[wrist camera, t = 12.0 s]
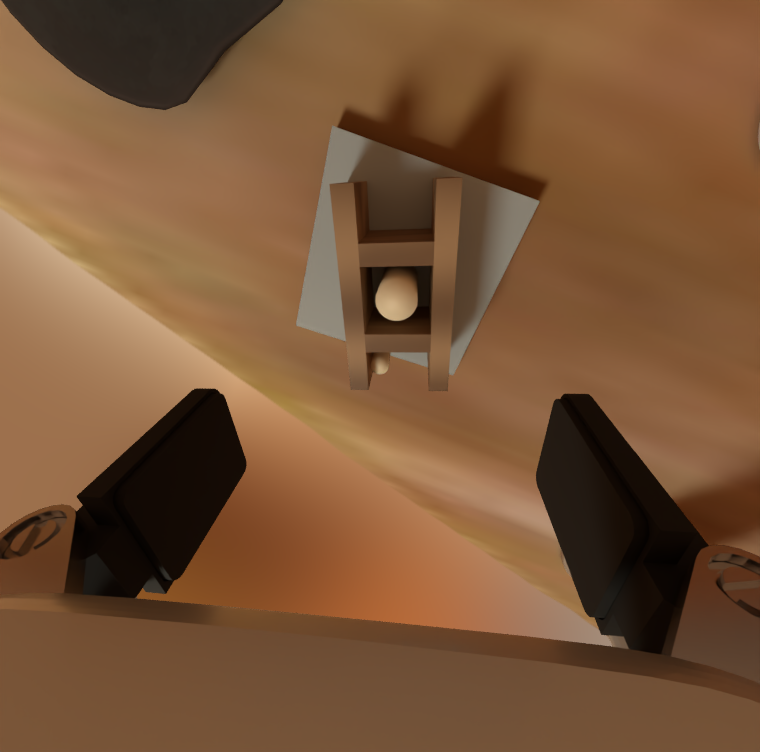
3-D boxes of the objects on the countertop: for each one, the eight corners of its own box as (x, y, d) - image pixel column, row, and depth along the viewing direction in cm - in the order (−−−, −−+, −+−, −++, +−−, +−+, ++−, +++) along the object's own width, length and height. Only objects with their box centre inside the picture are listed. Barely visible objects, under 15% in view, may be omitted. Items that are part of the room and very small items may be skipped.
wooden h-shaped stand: (347, 181, 21) (329, 183, 16) (453, 176, 20) (462, 177, 16) (361, 355, 27) (350, 389, 23) (442, 355, 26) (447, 391, 22)
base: (533, 199, 21) (572, 208, 16) (451, 367, 28) (459, 413, 23) (336, 128, 20) (308, 111, 15) (300, 319, 27) (272, 355, 22)
